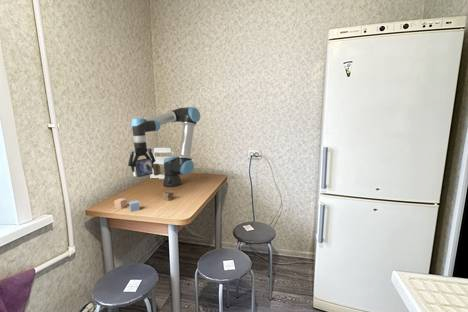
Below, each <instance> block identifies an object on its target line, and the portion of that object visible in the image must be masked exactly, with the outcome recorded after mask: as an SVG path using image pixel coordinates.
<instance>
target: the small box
mask: <svg viewBox="0 0 468 312" xmlns="http://www.w3.org/2000/svg"><path fill="white" fill-rule="evenodd" d="M135 167H136V175H137V176H136V178H141V177H142V178H143V177H147V176H150V175H151V174H153V173H152V162H151V159H147V158H146V157H145V158H141V159H138V160H137V161H136V164H135Z"/></svg>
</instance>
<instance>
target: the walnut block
mask: <svg viewBox="0 0 468 312" xmlns="http://www.w3.org/2000/svg"><path fill="white" fill-rule="evenodd" d="M174 194H175V193H174V192H173V191H164V192H162V199H163V201H167V202H170V201H172V200H174V199H175V196H174Z"/></svg>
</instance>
